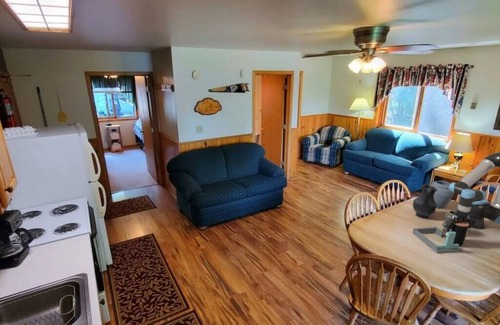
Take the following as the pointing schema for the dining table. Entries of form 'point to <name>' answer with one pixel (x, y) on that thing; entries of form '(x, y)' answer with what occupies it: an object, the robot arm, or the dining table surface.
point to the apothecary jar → (448, 217)
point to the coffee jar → (460, 232)
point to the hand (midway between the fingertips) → (456, 235)
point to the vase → (442, 193)
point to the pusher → (449, 242)
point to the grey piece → (419, 233)
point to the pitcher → (425, 202)
